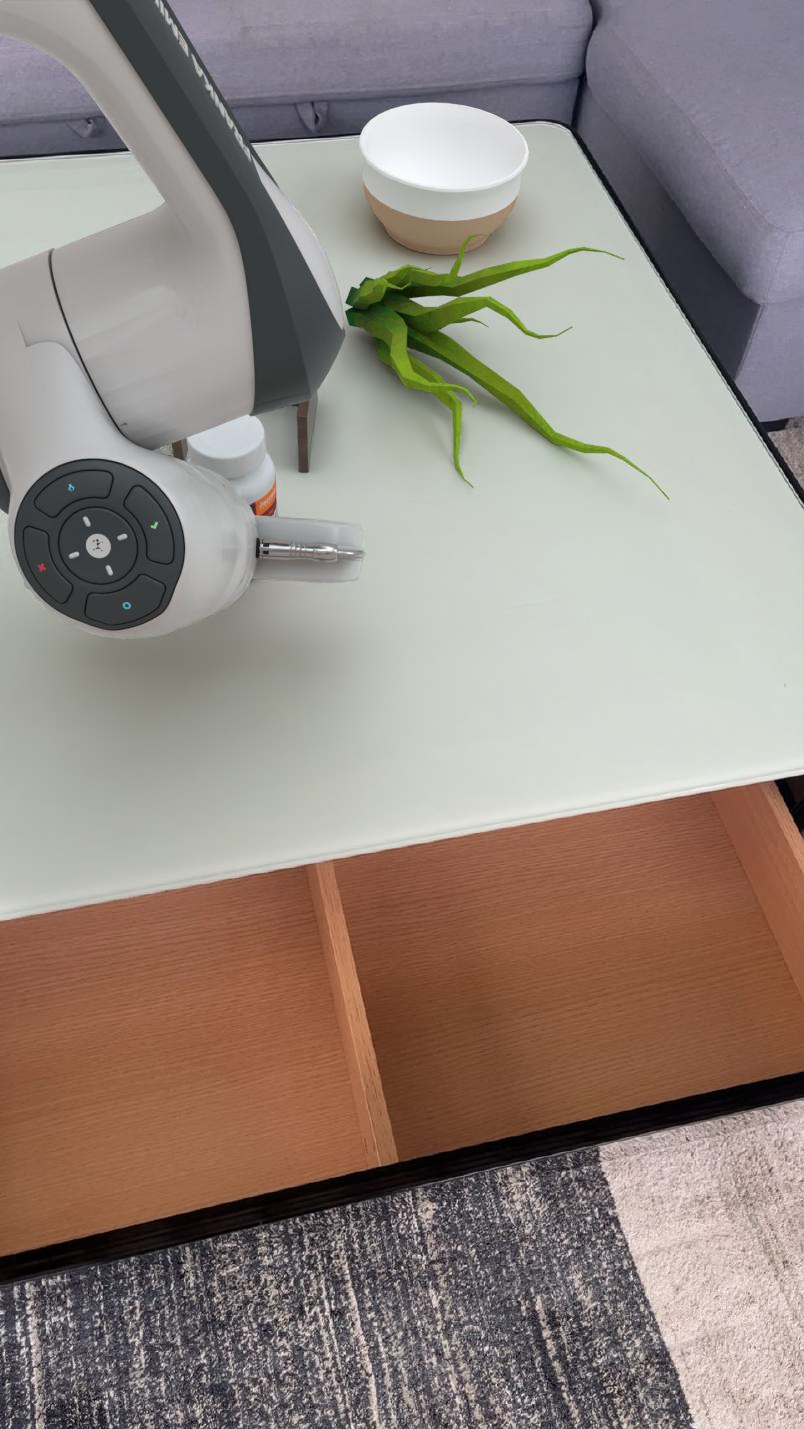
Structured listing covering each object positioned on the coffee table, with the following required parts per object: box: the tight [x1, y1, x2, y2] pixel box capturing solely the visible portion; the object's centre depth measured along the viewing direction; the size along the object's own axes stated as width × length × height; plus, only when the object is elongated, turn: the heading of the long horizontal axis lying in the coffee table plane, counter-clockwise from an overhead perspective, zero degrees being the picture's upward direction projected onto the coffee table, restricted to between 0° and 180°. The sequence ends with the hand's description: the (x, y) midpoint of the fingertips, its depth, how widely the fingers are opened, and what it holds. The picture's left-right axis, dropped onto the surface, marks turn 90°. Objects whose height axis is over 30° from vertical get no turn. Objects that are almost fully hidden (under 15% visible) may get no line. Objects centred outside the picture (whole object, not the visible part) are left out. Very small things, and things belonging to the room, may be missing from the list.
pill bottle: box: [186, 415, 279, 517], centre depth 74 cm, size 6×6×11 cm
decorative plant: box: [344, 234, 670, 501], centre depth 83 cm, size 18×30×15 cm, turn 18°
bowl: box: [358, 102, 530, 256], centre depth 102 cm, size 16×16×8 cm
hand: (218, 541), depth 73 cm, fingers closed, pressing on pill bottle
